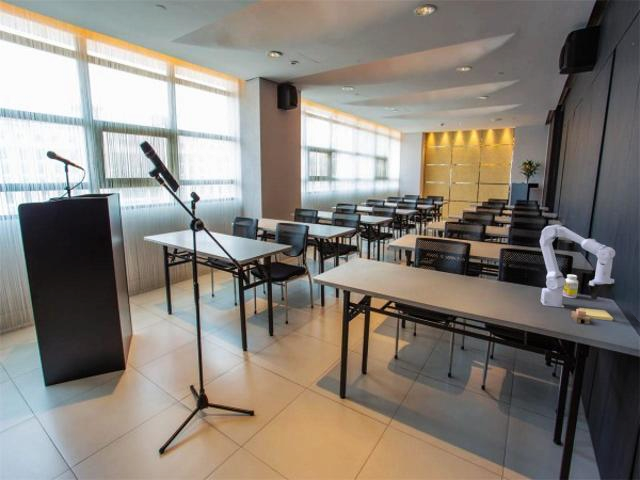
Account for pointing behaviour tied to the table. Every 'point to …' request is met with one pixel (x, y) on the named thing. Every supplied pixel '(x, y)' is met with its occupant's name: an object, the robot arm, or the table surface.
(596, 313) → the plate
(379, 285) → the table surface
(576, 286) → the supplement bottle
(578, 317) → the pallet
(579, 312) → the salmon pink square block
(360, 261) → the table surface
